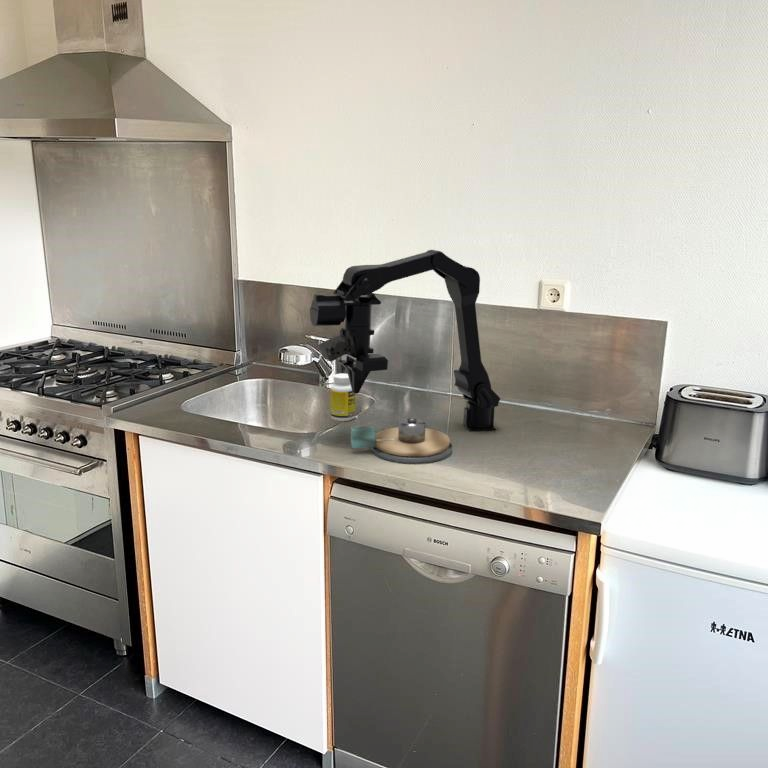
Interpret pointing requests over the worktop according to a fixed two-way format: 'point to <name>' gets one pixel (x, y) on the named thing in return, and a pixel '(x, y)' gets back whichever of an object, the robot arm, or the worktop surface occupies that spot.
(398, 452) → the turntable
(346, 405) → the pill bottle
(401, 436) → the cover
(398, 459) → the base
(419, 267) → the robot arm
